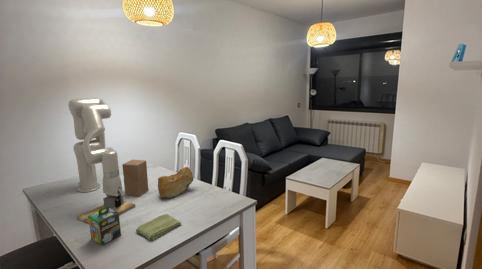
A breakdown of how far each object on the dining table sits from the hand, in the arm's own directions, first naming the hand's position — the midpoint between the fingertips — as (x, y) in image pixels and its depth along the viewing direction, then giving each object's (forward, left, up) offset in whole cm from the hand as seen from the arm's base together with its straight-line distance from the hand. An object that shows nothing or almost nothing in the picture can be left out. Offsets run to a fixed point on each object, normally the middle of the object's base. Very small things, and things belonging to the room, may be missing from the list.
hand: (114, 205), depth 136 cm
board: (0, -4, -2) cm, 5 cm away
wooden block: (-6, +21, -3) cm, 22 cm away
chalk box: (+19, -19, -3) cm, 27 cm away
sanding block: (0, 0, -1) cm, 1 cm away
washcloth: (+35, -4, -3) cm, 35 cm away
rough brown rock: (+14, +32, -3) cm, 35 cm away
